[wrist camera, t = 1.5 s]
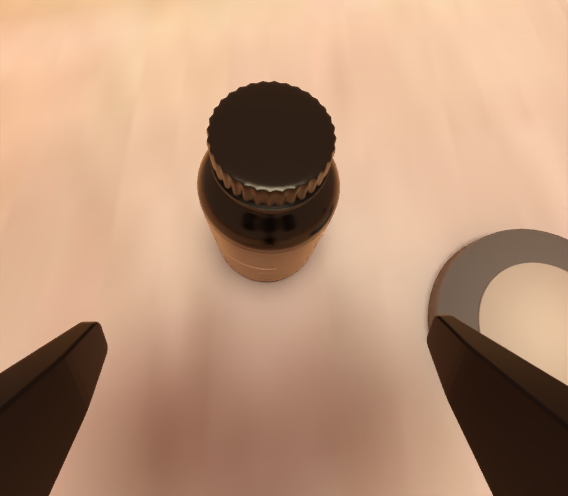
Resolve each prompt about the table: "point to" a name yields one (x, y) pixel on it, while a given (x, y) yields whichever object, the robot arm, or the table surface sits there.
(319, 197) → the supplement bottle
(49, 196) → the table surface
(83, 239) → the table surface
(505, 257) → the hub pad
